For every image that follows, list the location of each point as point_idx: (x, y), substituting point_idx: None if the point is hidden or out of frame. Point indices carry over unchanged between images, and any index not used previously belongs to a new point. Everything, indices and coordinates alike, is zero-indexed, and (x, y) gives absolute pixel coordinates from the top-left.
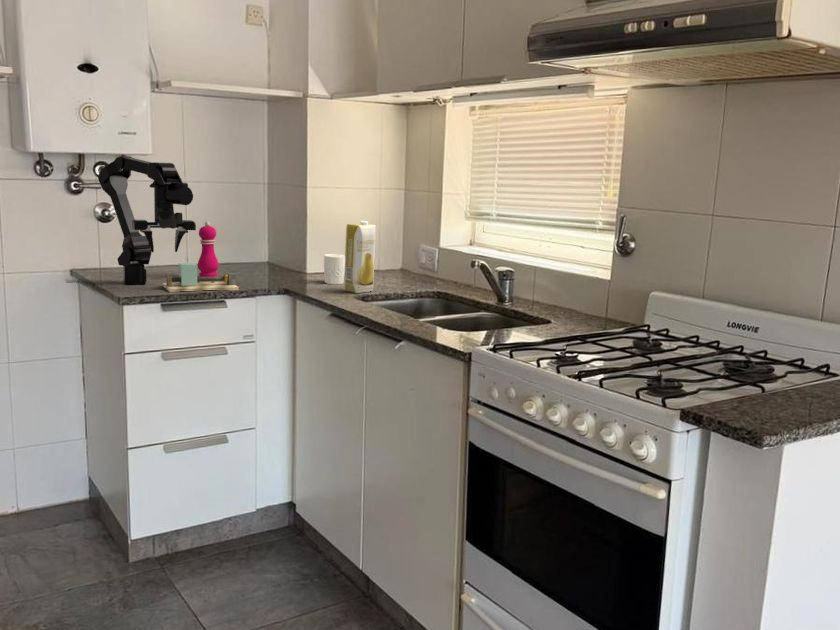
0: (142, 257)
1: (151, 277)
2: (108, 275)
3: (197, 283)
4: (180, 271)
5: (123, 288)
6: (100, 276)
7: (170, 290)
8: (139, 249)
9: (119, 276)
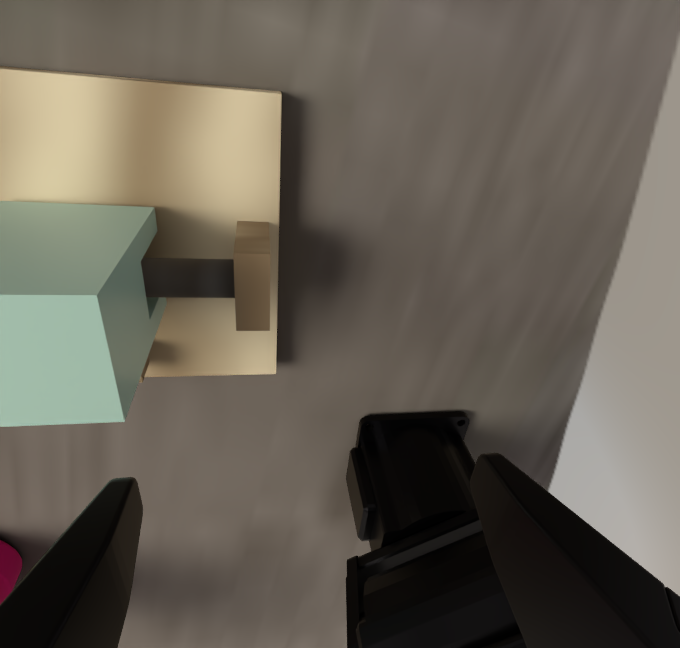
0: (433, 564)
1: (280, 571)
2: None
3: None
4: (132, 307)
5: (516, 322)
6: None
7: (272, 91)
8: (493, 630)
9: None
